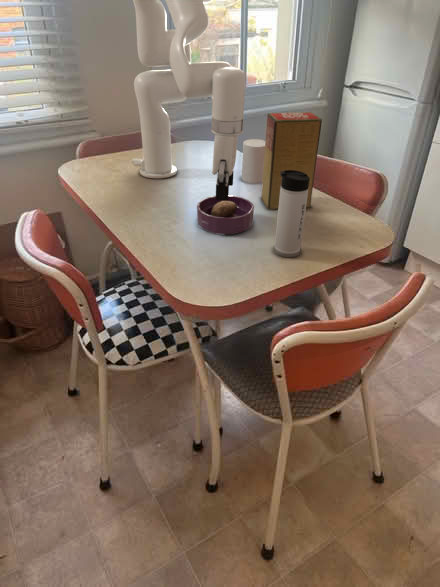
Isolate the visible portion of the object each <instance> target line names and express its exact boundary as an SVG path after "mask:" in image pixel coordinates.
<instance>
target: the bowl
mask: <svg viewBox="0 0 440 587" xmlns="http://www.w3.org/2000/svg"><path fill="white" fill-rule="evenodd" d="M221 201H224V200H216V195H213V196H212V195H211V196H207V197H204V198H203V199H201V200H200V201H198V203H197V205H196V222H197V225H198V226H199V227H200V228H201V229H202V230H205V231H207V232H209V233H214V234H221V235H232V234H238V233H242V232H246V231H247V230H249V229H250V228H251V227H252V226H253V225H254V216H255V205H254V203H253V202H252V201H250V200H249V199H247V198H244V197H242V196H238V195H230V194H229V195H228V200H227V201H231V202H234V203H235V204H236V211H235V213H234V215H236V216H237V217H229V218H224V217H215V216H211V211H212V209H213V207H214V205H215V204H217V203H219V202H221Z"/></svg>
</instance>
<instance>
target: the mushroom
mask: <svg viewBox="0 0 440 587" xmlns="http://www.w3.org/2000/svg"><path fill="white" fill-rule="evenodd" d="M235 211H236V204H235V203H234V202H231V201H221V202H219V203H217V204H215V205H214V207H213V209H212V211H211V216H215V217H224V218H229V217H237V216H236V215H234V213H235Z"/></svg>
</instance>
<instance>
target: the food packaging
mask: <svg viewBox="0 0 440 587" xmlns="http://www.w3.org/2000/svg"><path fill="white" fill-rule="evenodd" d="M322 123H323V119H322V118H321V117H320V116H318V115H316V114H314V113H313V112H312V111H307V112H304V111H303V112H268V113H267V116H266V127H265V128H266V129H265V141H266V142H265V155H264V169H263V182H262V183H261V186H262V187H261V198H260V199H261V201H262V203H263V204H264V206H265V207H266V209H267V210H278V208H279V198H280V189H281V180H282V177H281V175H280V173H281V171H285V170H295V171H300V172H303V173H305V174H307V176H308V177H309V178H310V180H309V189H308V196H307V204H306V209H307V208H311V206H312V196H313V188H314V182H315V174H316V166H317V158H318V151H319V144H320V137H321V132H322Z"/></svg>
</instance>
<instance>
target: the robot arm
mask: <svg viewBox="0 0 440 587" xmlns="http://www.w3.org/2000/svg"><path fill="white" fill-rule="evenodd" d="M213 1H214V0H165V3H166V6H167V9H168V12H169V14H170V17H171V20H172V23H173V26H174V29H167V12H166V11H167V10H166V8H165V6H164V5H163V3H162V1H161V0H132V2H133V6H134V10H135V23H136V26H135V27H136V42H137V43H136V47H137V55H138V56H137V57H138V60H139V62H140V64H141V65H142V66H145V67H148V68H149V67H150V68H157V67H159V68H160V67H170V69H157V70H156V69H155V70H146V71H143V72H140V73H139V74H137V75H136V76H135V78H134V80H133V89H134V93H135V98H136V101H137V106H138V113H139V123H140V134H141V146H142V158H132V159H131V163H132V164H131V165H132V166H133V167H140V168H139V174H140V175H141V176H143V177H145V178H149V179H166V178H170V177H173V176H175V175H176V174H177V172H178V169H177V167H176V166H175V165H173V158H172V135H171V121H170V116H169V114H168V113H167V112H166V111H165V109H164V108H163V106H162V105H166V104H174V103H175V104H176V103H181V102H184V101H186V100H187V99H201V98H203V99H204V98H210V97H211V133H213V134H214V140H213V154H212V169H211V170H212V175H213V176H215V175H216V183H215V196H216V200H224V201H227V200H228V195H230V192H229V191H230V186H231V187H232V186H233V185H234V173H235V172H234V170H235V169H234V168H235V166H236V160H237V150H238V136H240V135H242V134H243V130H244V128H243V127H244V112H245V111H244V110H245V95H246V94H245V93H246V79H247V78H246V73H245V72H244V70H242V69H240V68H238V67H234V66H233V65H231V64H230V63H229V62H227V61H202V62H192V49H191V43H192V42H194V41H195V40H198V39H199V38H200V37H201V36H203V35H204V34H205V32H206V31H207V30H208V28H209V26H210V16H209V14H208V11H207V8H206V6H205V4H209V3H212V2H213Z"/></svg>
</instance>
